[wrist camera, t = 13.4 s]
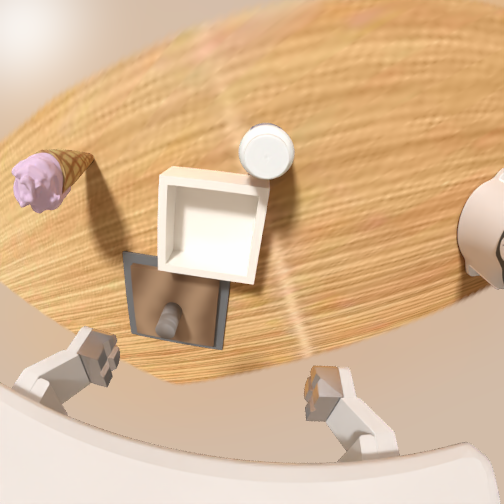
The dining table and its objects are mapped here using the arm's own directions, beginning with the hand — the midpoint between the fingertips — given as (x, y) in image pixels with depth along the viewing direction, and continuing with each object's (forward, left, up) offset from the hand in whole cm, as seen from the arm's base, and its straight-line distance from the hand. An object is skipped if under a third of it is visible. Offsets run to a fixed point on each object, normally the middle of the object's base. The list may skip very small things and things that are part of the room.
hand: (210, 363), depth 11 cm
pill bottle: (-2, -5, -28) cm, 28 cm away
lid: (+8, +20, -27) cm, 35 cm away
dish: (+3, +5, -28) cm, 28 cm away
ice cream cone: (+21, -1, -28) cm, 35 cm away
